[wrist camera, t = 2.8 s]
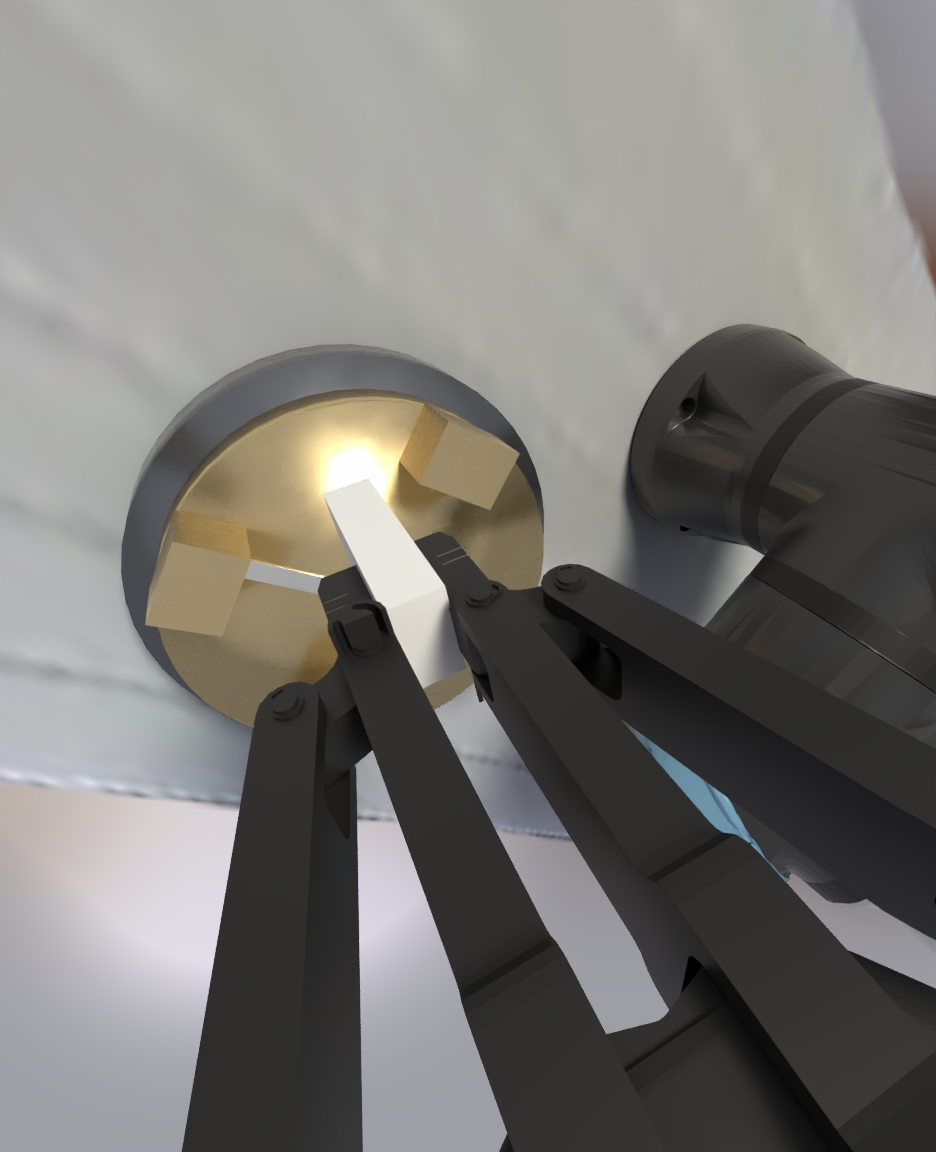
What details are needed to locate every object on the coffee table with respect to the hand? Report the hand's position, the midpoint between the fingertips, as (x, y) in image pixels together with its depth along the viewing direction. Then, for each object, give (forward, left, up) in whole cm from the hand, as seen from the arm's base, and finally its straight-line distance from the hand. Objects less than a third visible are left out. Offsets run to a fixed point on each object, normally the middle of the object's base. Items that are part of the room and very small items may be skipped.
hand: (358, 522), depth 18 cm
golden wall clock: (+1, +9, -11) cm, 14 cm away
